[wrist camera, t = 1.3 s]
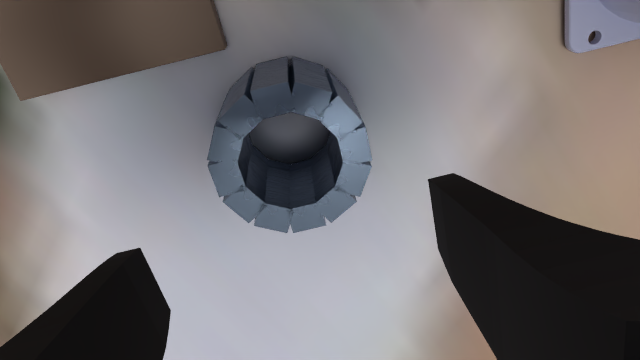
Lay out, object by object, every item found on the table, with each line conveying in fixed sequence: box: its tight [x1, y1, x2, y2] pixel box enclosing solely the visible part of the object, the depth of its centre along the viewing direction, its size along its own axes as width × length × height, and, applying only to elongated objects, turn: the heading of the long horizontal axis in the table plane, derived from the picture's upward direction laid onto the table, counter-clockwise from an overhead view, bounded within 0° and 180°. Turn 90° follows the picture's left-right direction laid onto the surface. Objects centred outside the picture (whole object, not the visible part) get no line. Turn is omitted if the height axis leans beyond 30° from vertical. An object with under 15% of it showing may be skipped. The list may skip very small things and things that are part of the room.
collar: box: [207, 57, 372, 233], centre depth 18 cm, size 6×6×4 cm
